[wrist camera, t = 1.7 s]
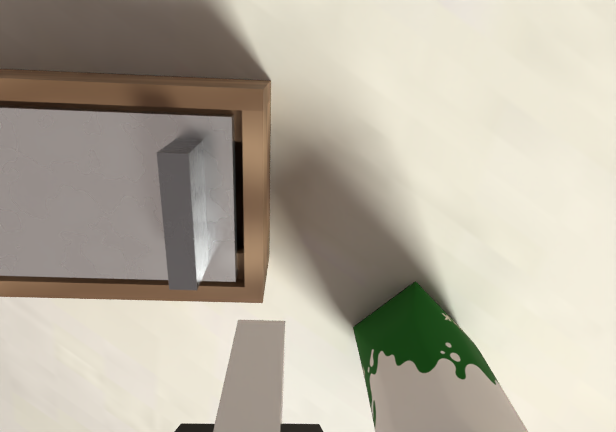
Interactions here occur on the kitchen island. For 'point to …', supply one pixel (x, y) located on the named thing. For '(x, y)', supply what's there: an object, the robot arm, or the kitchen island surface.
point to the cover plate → (118, 195)
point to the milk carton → (428, 371)
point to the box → (165, 98)
